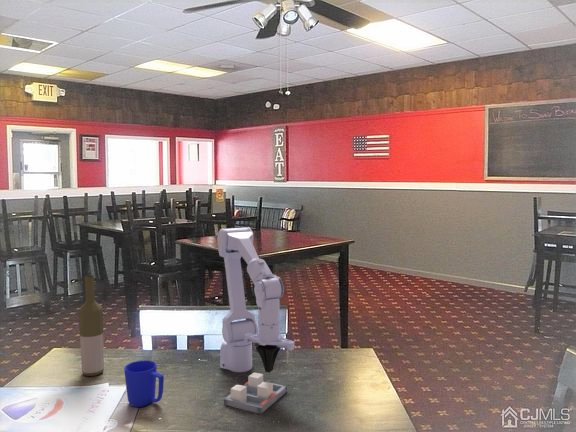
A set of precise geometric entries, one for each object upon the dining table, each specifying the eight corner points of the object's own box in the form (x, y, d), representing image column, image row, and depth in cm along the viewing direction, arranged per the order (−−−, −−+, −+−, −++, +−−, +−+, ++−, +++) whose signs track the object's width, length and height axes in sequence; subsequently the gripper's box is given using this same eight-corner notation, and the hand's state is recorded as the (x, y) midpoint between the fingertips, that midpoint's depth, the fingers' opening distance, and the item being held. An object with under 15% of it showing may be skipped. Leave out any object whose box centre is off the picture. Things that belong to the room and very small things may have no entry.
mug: (150, 416, 124) (149, 378, 123) (118, 404, 131) (117, 368, 130) (174, 403, 131) (173, 367, 130) (142, 393, 138) (141, 358, 137)
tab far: (248, 390, 137) (248, 376, 136) (254, 386, 140) (254, 372, 139) (257, 392, 135) (257, 378, 135) (263, 388, 138) (263, 374, 138)
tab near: (230, 403, 129) (230, 388, 129) (237, 398, 132) (236, 384, 131) (240, 406, 128) (240, 391, 127) (246, 401, 130) (246, 386, 130)
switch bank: (224, 408, 129) (224, 398, 128) (252, 387, 141) (252, 378, 141) (260, 417, 124) (260, 407, 123) (286, 395, 136) (286, 385, 136)
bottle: (84, 369, 154) (80, 274, 152) (107, 368, 155) (104, 273, 153) (77, 378, 147) (73, 279, 145) (102, 377, 148) (98, 278, 146)
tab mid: (257, 401, 130) (257, 386, 130) (263, 396, 133) (263, 382, 133) (267, 403, 129) (267, 388, 129) (272, 398, 132) (272, 384, 131)
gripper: (238, 322, 134) (238, 371, 135) (285, 330, 127) (285, 381, 128) (251, 315, 140) (252, 362, 141) (298, 322, 133) (297, 371, 134)
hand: (269, 370), depth 135 cm, fingers closed
